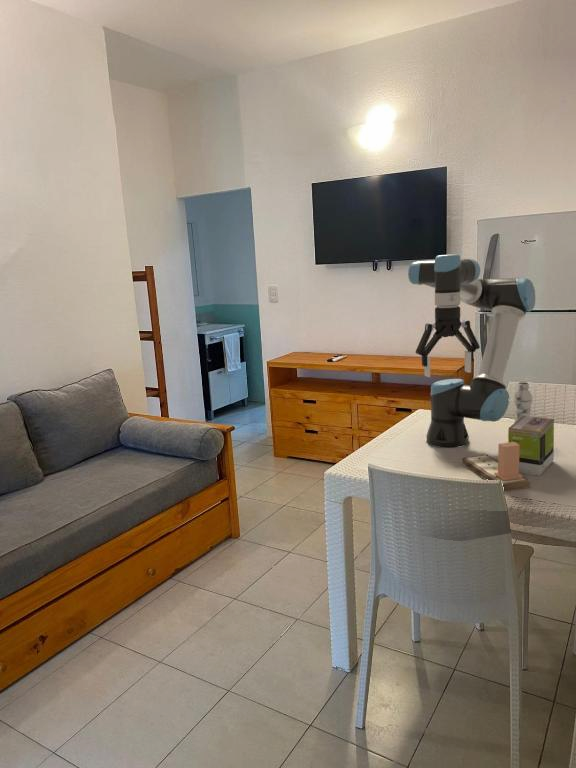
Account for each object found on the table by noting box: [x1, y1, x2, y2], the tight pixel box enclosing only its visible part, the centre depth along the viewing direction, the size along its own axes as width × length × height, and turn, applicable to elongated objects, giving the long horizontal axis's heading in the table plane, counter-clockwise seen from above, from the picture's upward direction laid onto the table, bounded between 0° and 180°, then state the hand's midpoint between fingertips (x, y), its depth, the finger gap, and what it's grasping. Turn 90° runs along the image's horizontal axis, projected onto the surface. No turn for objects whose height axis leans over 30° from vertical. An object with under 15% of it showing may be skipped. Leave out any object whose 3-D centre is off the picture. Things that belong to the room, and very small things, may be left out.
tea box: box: [507, 415, 555, 477], centre depth 184 cm, size 15×10×15 cm, turn 141°
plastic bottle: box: [513, 381, 533, 424], centre depth 213 cm, size 6×7×20 cm
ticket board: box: [461, 453, 531, 492], centre depth 181 cm, size 24×9×2 cm, turn 11°
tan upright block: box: [495, 442, 523, 480], centre depth 172 cm, size 5×6×10 cm
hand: (447, 374), depth 181 cm, fingers open, 13 cm apart
